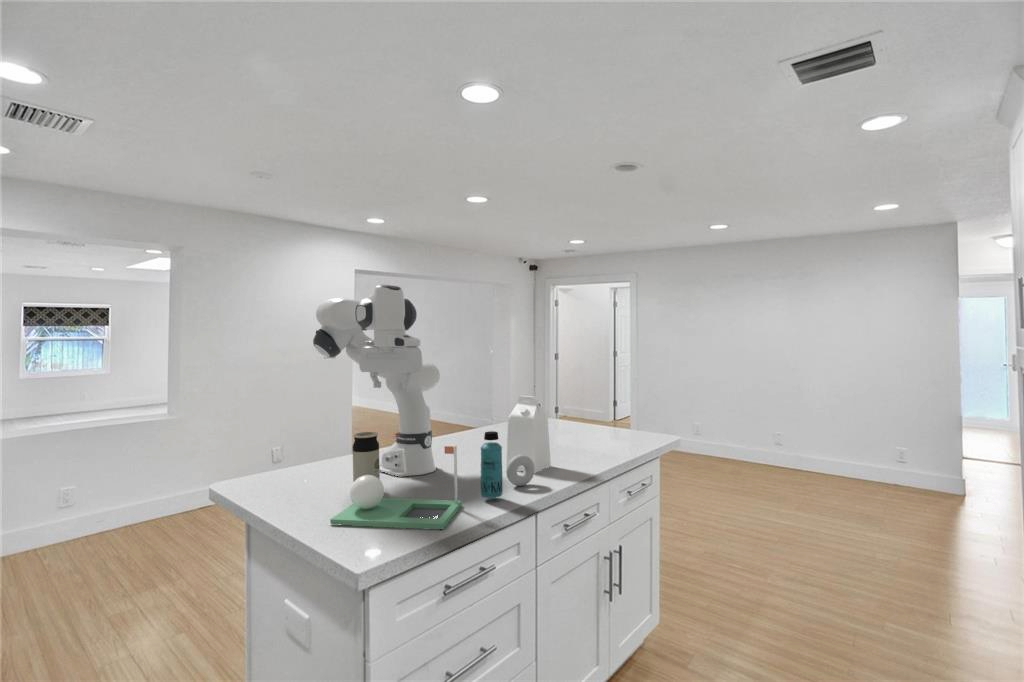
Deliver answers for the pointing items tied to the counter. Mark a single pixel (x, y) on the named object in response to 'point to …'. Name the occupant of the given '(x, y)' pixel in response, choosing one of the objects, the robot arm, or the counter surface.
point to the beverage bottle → (491, 467)
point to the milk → (528, 433)
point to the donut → (513, 466)
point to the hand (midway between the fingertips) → (390, 388)
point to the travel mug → (365, 455)
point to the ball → (366, 492)
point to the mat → (404, 510)
